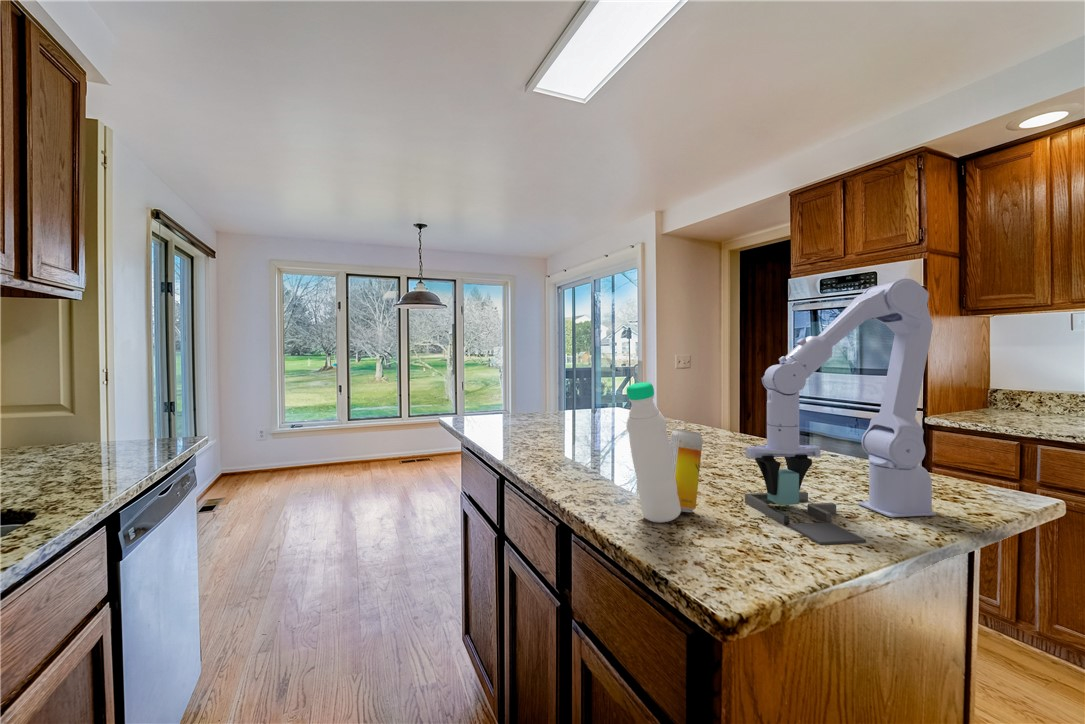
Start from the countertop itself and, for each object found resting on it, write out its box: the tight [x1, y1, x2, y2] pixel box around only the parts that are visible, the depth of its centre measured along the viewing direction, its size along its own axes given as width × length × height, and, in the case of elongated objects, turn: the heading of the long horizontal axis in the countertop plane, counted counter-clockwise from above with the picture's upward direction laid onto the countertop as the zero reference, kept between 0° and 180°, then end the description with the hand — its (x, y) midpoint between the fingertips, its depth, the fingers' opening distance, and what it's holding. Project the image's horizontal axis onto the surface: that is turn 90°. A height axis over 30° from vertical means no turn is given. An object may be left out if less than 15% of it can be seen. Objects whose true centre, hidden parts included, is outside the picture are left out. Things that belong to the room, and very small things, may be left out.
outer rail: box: [744, 491, 809, 527], centre depth 89 cm, size 14×14×2 cm
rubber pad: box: [787, 521, 867, 545], centre depth 78 cm, size 8×8×1 cm
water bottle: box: [625, 382, 682, 523], centre depth 84 cm, size 7×7×25 cm
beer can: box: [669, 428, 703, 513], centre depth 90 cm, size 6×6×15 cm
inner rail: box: [806, 502, 837, 523], centre depth 85 cm, size 6×6×2 cm
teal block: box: [766, 468, 800, 506], centre depth 91 cm, size 4×4×6 cm
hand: (782, 493), depth 91 cm, fingers closed on teal block, 4 cm apart
